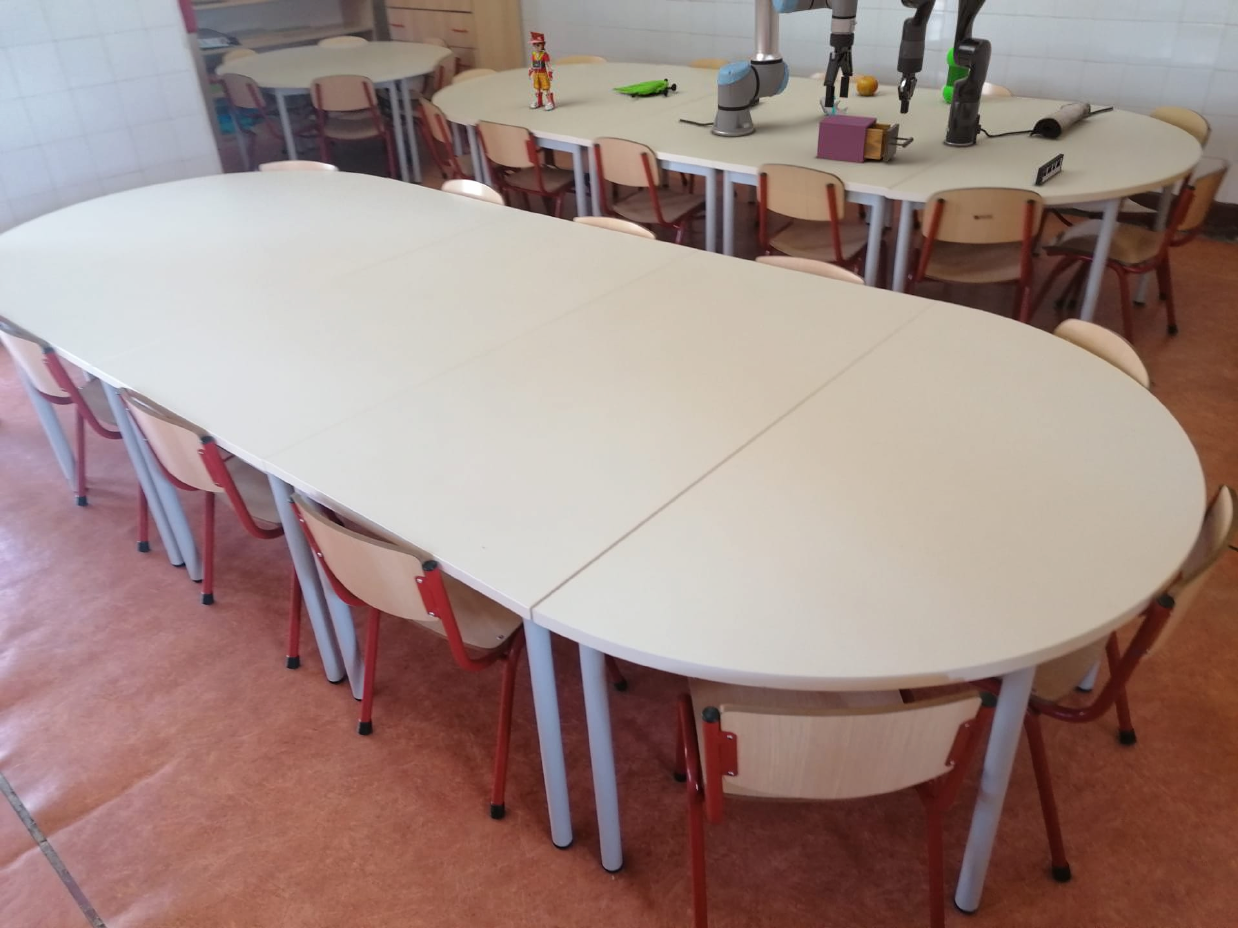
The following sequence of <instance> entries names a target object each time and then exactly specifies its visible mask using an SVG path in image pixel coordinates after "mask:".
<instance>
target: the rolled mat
mask: <svg viewBox="0 0 1238 928" xmlns="http://www.w3.org/2000/svg"><path fill="white" fill-rule="evenodd" d="M1091 112H1092V105H1091V104H1090V103H1089V102H1082V101H1080V102H1079V101H1078V102H1073V103H1072V102H1071V103H1065V104H1063V105H1061V106H1060V108H1059V109H1058V110H1056V111H1053V112H1052V113H1050V114H1048V115H1046V116H1044V117H1042V118H1040V119H1039V120H1037V121H1036V123H1035V125H1034V126H1033V128H1032V129H1031V130H1032V132H1029V137H1032V136H1034V135H1041V136H1042V137H1043V138H1046V139H1051V140H1055V139H1056V140H1057V139H1058V138H1059V137H1060V136H1061V135H1063V134H1064V133H1065V132H1066V131H1067V129H1068V128H1070V127H1071V126H1073V124H1075V123H1076V122H1077V121H1079V120H1084V119H1085V120H1086V119H1087V118H1090V117H1091V116H1092V114H1091ZM1078 119H1079V120H1078Z"/></svg>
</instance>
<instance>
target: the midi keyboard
mask: <svg viewBox="0 0 1238 928" xmlns="http://www.w3.org/2000/svg"><path fill="white" fill-rule="evenodd" d="M1064 157H1065V153H1059V154H1058V155H1056V156H1055V157H1052V159H1051V160H1049V161H1047V162H1045V164H1042V165H1041V166H1039V167H1038V169H1037V175H1036V179H1035V186H1040V185H1042V183H1044V182H1045V181H1047V180H1048V179H1049V178H1051V177H1052V176H1054V175H1055V174H1056V173H1058V172H1060V171H1061V170H1062V165H1063V161H1064Z"/></svg>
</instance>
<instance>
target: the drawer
mask: <svg viewBox="0 0 1238 928" xmlns="http://www.w3.org/2000/svg"><path fill="white" fill-rule="evenodd" d="M899 130H900V123H897V122H895V124H893V125H891V123H881V122H880V123H879V122H876V123H873V124H872V125H870V126H869V127H868V128H866V139H865V148H864V158H867V159H873V160H881V159H882V162H884V163H887V162H888V161H890V160H891V159H892V158H893V157H894V156H895V155H896V154H897V149H898V147H901V148H903V149H905V148H907V147H908V146H909V145H911V144H912V143H913V142H914V140H915V138H914V137H913V136H910V137H909V138H908V137H900V136H899ZM898 140H899V141H904V142H903V143H898Z"/></svg>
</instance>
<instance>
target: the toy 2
mask: <svg viewBox="0 0 1238 928" xmlns="http://www.w3.org/2000/svg"><path fill="white" fill-rule="evenodd" d="M669 85H670V83H669V79H668V78H664V79H663V80H649V81H644V82H640V83H634V84H629V85H627V86H621V87H613V88H612V89H613V90H616V91H619V92H623V93H627V94H628V93H629V94H631V95H630V96H631V98H632V99H634V98H636V96H637V95H650V94H652V93H654V94H658V93H662V95H663V96H665V97H667V96H668V95H669V90H671V91H672V92H676V91H677V84H676V83H672V84H671V86H669Z"/></svg>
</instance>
